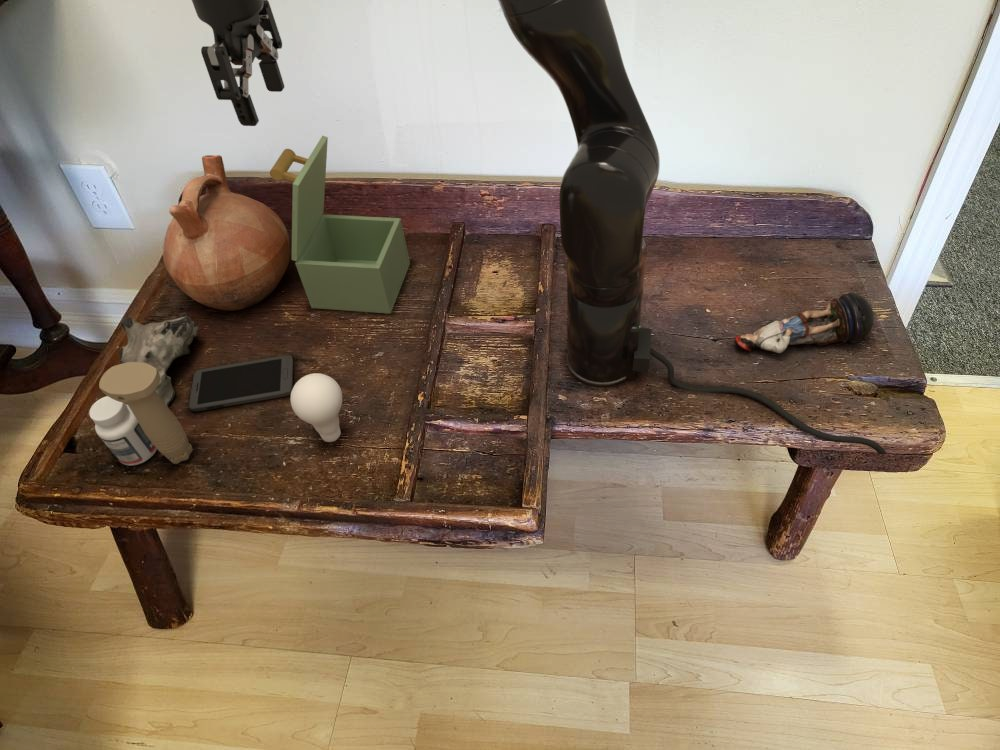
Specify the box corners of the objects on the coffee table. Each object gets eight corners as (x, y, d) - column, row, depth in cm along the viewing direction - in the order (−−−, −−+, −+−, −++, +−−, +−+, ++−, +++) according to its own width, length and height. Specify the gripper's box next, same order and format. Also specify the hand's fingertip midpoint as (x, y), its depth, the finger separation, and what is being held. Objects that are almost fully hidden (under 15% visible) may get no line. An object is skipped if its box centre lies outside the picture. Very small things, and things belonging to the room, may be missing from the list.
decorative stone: (185, 407, 98) (137, 357, 91) (129, 419, 100) (78, 370, 94) (221, 327, 109) (180, 276, 102) (170, 339, 111) (127, 290, 105)
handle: (196, 471, 92) (144, 395, 81) (149, 468, 93) (91, 392, 82) (211, 441, 95) (163, 363, 84) (165, 438, 96) (112, 360, 85)
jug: (276, 330, 108) (229, 220, 93) (165, 323, 111) (102, 215, 96) (316, 251, 120) (280, 141, 105) (214, 246, 123) (165, 139, 108)
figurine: (886, 307, 91) (738, 327, 94) (881, 352, 95) (738, 369, 98) (864, 280, 98) (726, 299, 100) (860, 323, 101) (727, 340, 104)
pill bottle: (145, 427, 97) (114, 384, 91) (167, 446, 95) (137, 403, 88) (110, 453, 95) (75, 410, 88) (131, 473, 93) (97, 431, 86)
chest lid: (327, 137, 101) (291, 125, 101) (298, 185, 94) (259, 173, 93) (323, 212, 111) (290, 202, 111) (296, 261, 104) (261, 251, 104)
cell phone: (293, 395, 99) (291, 392, 99) (189, 413, 98) (187, 409, 98) (294, 357, 104) (292, 353, 103) (195, 373, 103) (193, 369, 103)
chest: (410, 263, 116) (400, 218, 110) (390, 313, 109) (379, 268, 102) (335, 259, 118) (321, 214, 112) (311, 308, 111) (294, 263, 104)
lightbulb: (358, 417, 96) (338, 361, 88) (353, 455, 92) (332, 400, 84) (312, 420, 96) (288, 364, 88) (305, 459, 92) (280, 404, 84)
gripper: (221, -6, 75) (270, 137, 87) (273, -57, 84) (311, 79, 96) (155, -5, 76) (212, 136, 88) (213, -55, 85) (258, 79, 97)
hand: (264, 106), depth 92 cm, fingers open, 8 cm apart
